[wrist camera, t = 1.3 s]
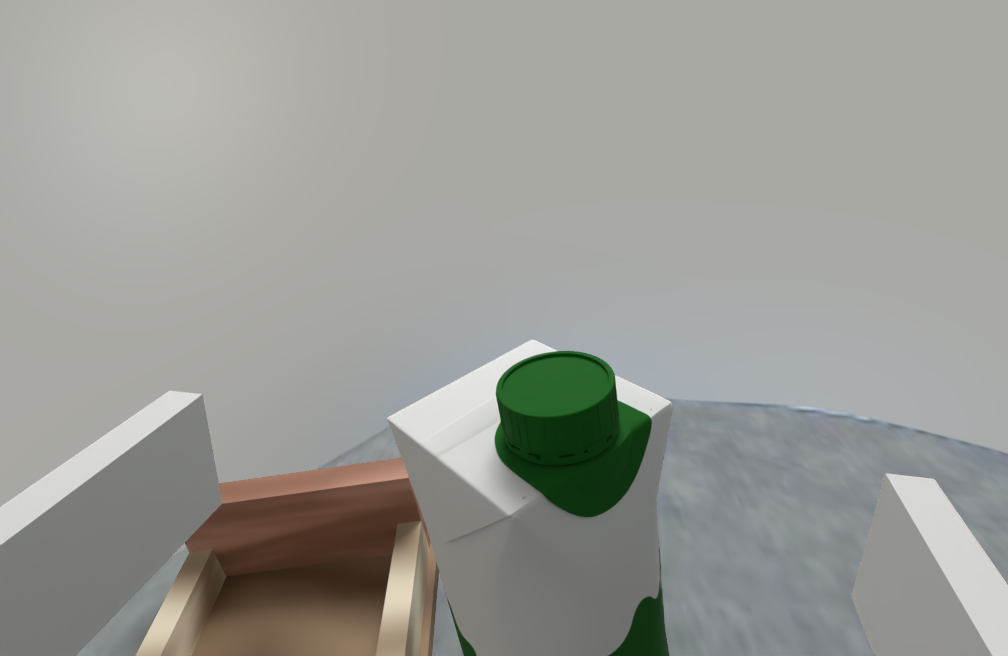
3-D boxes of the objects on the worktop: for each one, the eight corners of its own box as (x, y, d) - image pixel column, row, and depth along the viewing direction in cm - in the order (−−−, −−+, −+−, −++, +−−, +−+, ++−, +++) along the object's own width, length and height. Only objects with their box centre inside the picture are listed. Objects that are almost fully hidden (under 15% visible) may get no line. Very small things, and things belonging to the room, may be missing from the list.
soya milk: (573, 851, 27) (493, 482, 18) (452, 697, 34) (348, 371, 24) (705, 706, 31) (697, 348, 22) (575, 595, 38) (526, 285, 29)
